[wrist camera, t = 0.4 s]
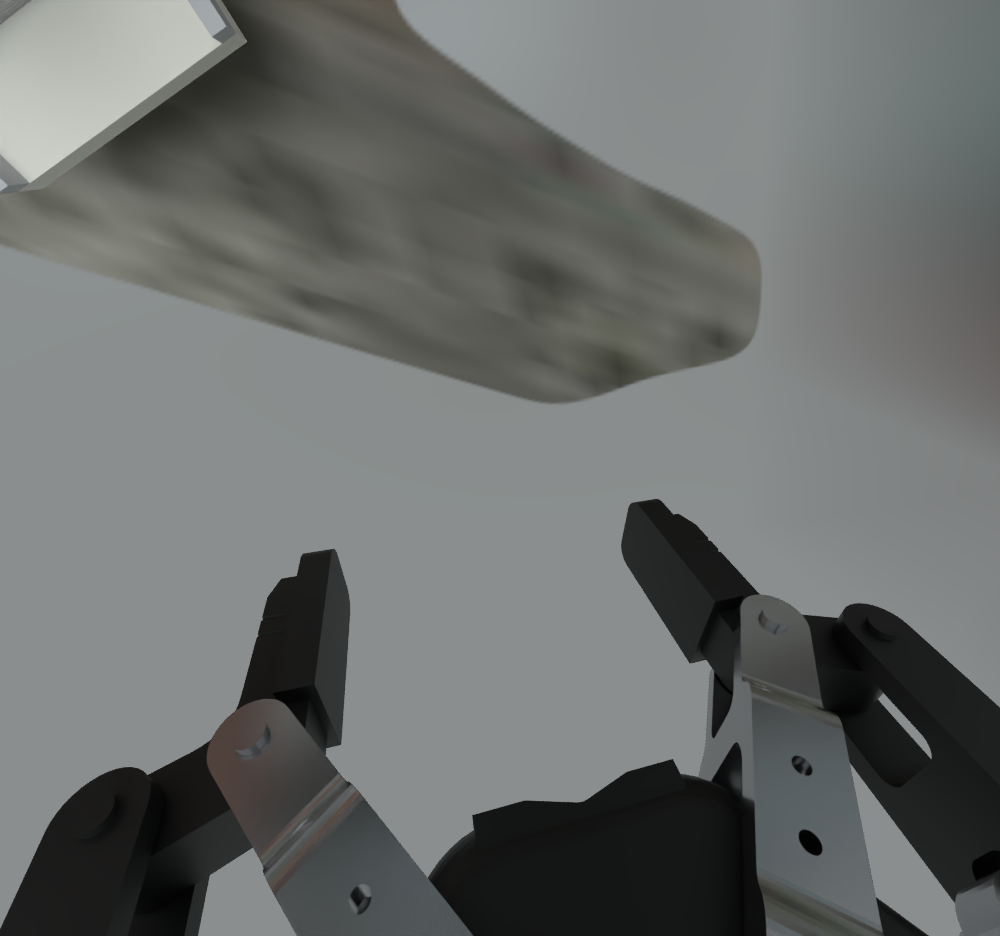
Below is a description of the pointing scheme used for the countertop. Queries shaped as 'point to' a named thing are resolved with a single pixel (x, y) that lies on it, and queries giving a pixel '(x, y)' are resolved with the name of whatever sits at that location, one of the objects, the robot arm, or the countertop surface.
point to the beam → (95, 75)
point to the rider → (10, 8)
